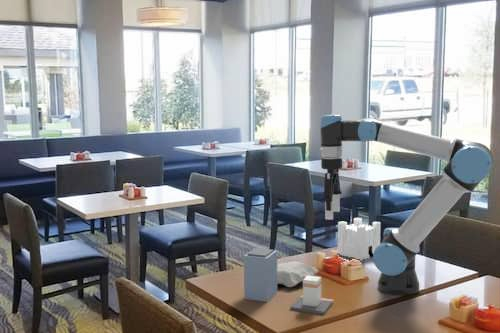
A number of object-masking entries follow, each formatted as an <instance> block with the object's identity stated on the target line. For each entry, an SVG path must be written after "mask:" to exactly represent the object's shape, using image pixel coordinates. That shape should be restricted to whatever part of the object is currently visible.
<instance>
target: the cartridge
mask: <svg viewBox="0 0 500 333" xmlns="http://www.w3.org/2000/svg"><path fill="white" fill-rule="evenodd" d="M322 282H323V281H322V277H321V276H316V275H313V276H308V275H307V276H306V277H305V278H304V279H303V282H302V288H303V289H302V291H303V292H302V296H303V305H308V306H315V307H317V306H318V305H319V304H320V303H321V298H322Z"/></svg>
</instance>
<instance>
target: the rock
mask: <svg viewBox="0 0 500 333" xmlns="http://www.w3.org/2000/svg"><path fill="white" fill-rule="evenodd" d="M318 273H319V269H317V268H316V267H314V266H311V265H310V264H306V263H304V262H299V261H292V260H291V261H288V262H282V263H278V264H277V285H284V286H285V287H287V288H292V287H295V286H297V285H298V284H300V283H303V279H304V278H305V277H306V276H307V275H308V276H316V275H317V274H318Z"/></svg>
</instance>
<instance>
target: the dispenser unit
mask: <svg viewBox="0 0 500 333" xmlns="http://www.w3.org/2000/svg"><path fill="white" fill-rule="evenodd" d="M277 265H278V250H274V249H268V248H259V247H255V248H253V249H252V250H250V251H248V252H247V253H246V254H244V255H243V279H244V280H243V282H244V283H243V288H244V290H243V292H244V294H243V295H244V297H243V298H244V299H245V300H246V299H247V300H252V301H259V302H267V303H268V302H269V301H270V300H271V299H272V298H273V297H275V296H276V295H277V294H278V284H277Z"/></svg>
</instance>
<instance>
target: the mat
mask: <svg viewBox="0 0 500 333" xmlns="http://www.w3.org/2000/svg"><path fill="white" fill-rule="evenodd" d="M334 301H335V300H334V299H332V298H331V299H329V298H322V297H321V303H320V304H319V305H318V306H317V307H315V306H308V305H303V294H302V295H300V296H299V297H298V298H297V299H296V300H295V301H294V303H292V304H291V306H289V307H290V308H289V309H290V311H295V312H303V313H310V314H315V315H316V314H317V315H325V314H326V313H327V311H329V309H330V308H331V307H332V305H333V304H334Z"/></svg>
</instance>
